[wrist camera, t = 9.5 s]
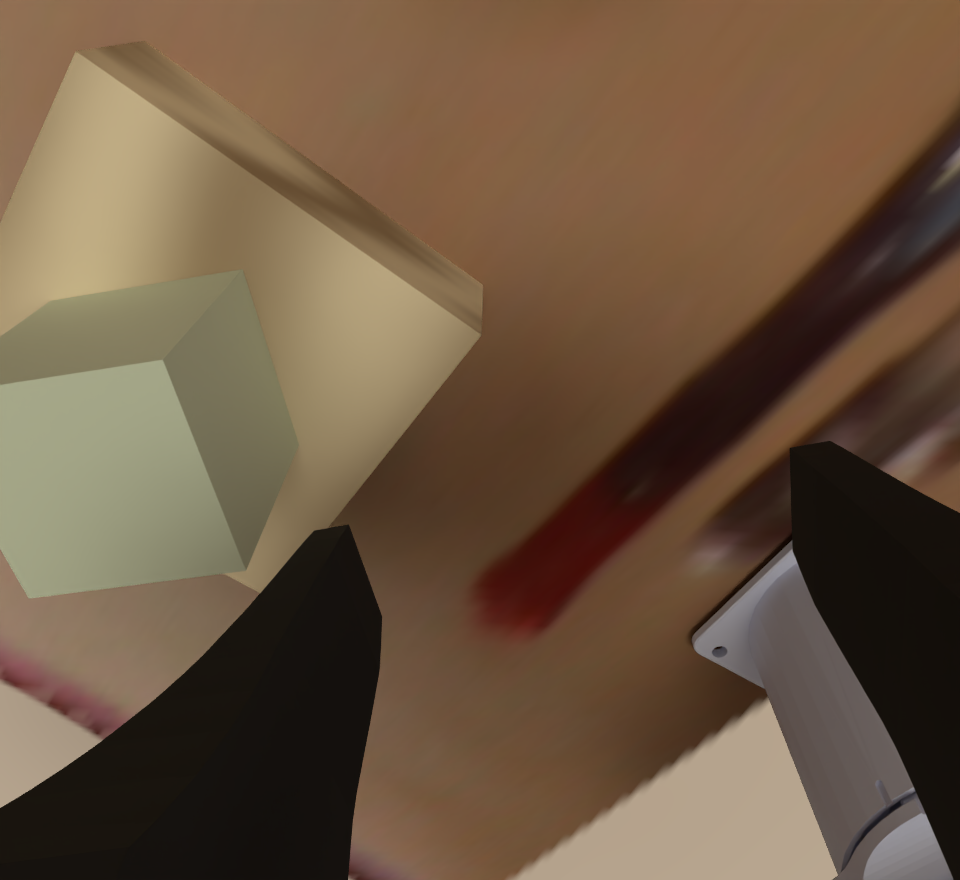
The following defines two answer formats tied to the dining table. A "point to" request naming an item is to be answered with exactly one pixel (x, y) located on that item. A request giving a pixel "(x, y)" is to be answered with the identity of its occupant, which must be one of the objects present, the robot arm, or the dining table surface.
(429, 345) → the bamboo box
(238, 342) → the sage block
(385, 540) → the dining table surface
